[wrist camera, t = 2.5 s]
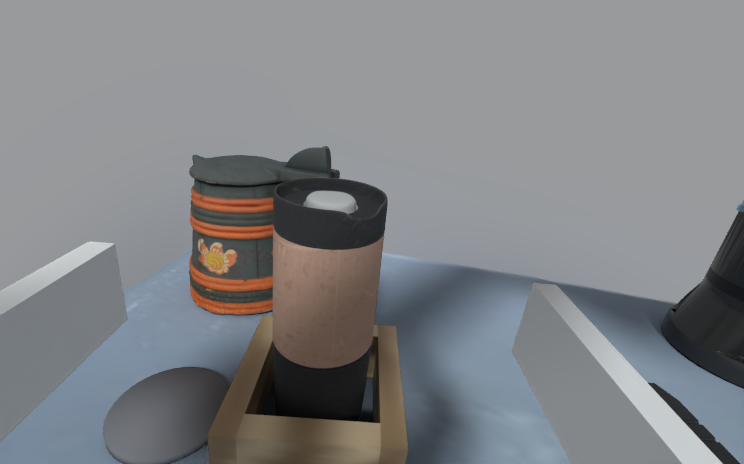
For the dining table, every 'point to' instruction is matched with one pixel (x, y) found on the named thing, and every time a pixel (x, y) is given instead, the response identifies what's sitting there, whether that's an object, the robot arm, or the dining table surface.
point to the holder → (306, 435)
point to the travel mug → (324, 294)
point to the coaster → (164, 416)
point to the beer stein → (240, 226)
